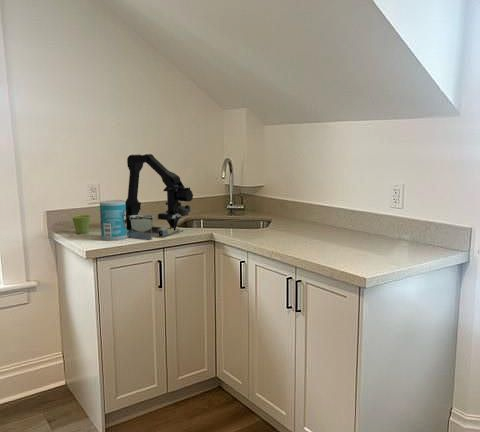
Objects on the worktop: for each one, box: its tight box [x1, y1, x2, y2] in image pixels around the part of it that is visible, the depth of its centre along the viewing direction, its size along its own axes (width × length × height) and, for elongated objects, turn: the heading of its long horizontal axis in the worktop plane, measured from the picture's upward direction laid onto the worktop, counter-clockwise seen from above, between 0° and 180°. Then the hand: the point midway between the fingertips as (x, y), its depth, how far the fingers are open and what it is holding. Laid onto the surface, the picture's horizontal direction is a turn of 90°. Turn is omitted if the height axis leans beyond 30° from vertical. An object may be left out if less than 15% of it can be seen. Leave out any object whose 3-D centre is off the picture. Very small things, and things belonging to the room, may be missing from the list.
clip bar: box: [168, 226, 174, 235], centre depth 242 cm, size 2×6×4 cm, turn 151°
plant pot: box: [71, 214, 91, 235], centre depth 248 cm, size 9×9×9 cm
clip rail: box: [157, 227, 184, 239], centre depth 243 cm, size 3×18×4 cm, turn 152°
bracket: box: [127, 225, 169, 241], centre depth 241 cm, size 15×16×3 cm
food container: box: [129, 214, 155, 236], centre depth 242 cm, size 12×6×10 cm, turn 84°
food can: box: [99, 199, 128, 242], centre depth 234 cm, size 12×12×18 cm
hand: (173, 231), depth 246 cm, fingers closed
